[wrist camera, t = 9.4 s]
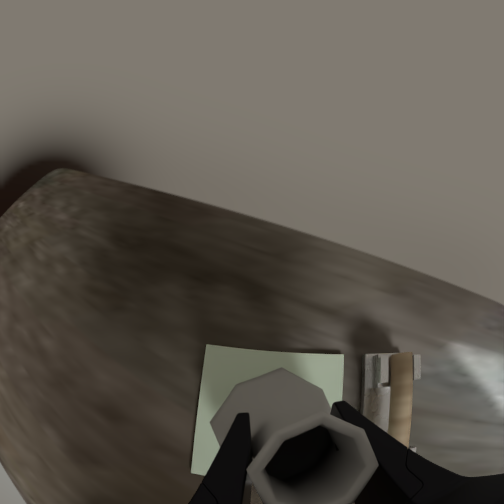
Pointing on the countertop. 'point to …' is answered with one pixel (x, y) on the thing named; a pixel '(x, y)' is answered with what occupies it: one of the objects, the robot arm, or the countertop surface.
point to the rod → (401, 397)
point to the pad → (245, 368)
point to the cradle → (380, 387)
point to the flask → (297, 442)
